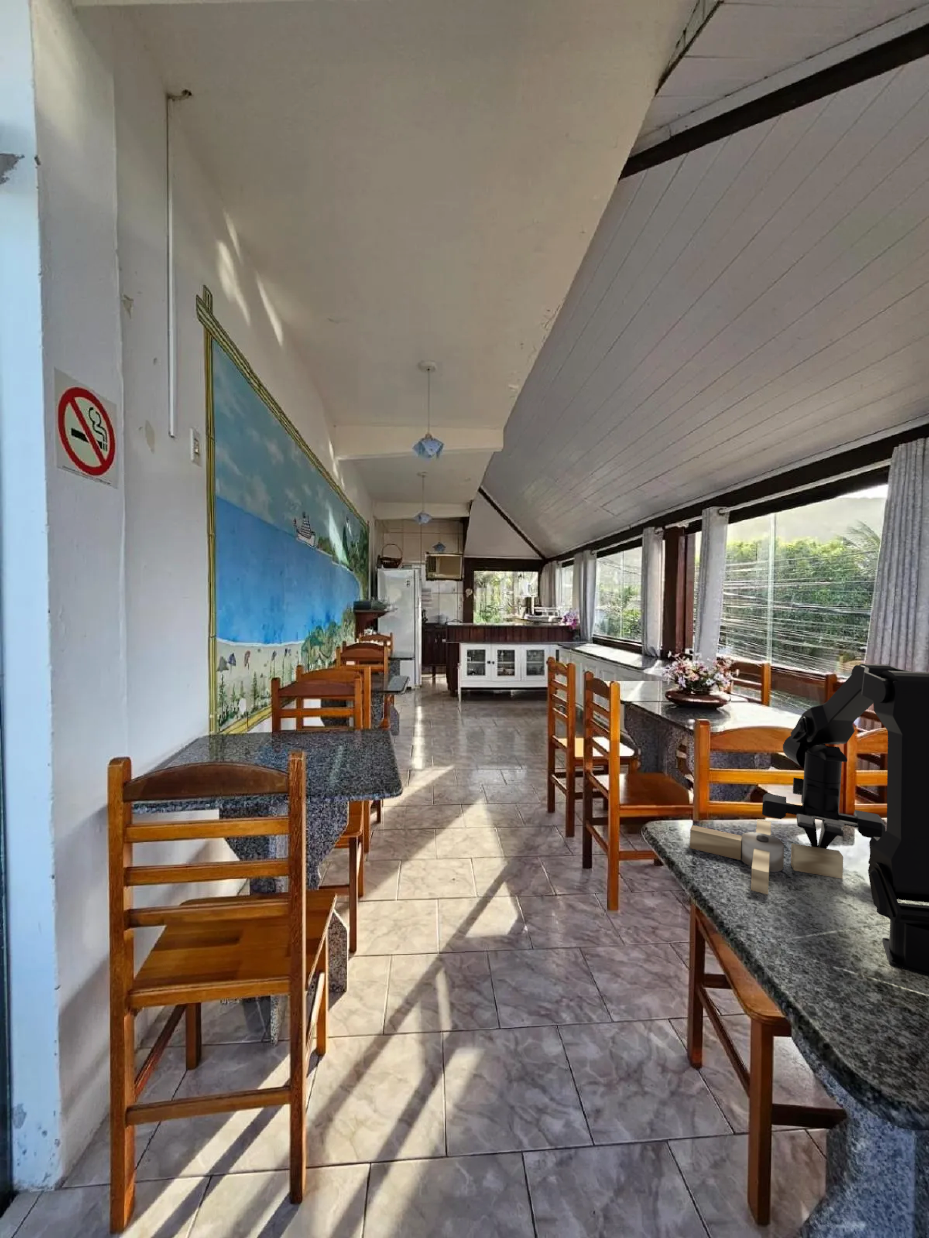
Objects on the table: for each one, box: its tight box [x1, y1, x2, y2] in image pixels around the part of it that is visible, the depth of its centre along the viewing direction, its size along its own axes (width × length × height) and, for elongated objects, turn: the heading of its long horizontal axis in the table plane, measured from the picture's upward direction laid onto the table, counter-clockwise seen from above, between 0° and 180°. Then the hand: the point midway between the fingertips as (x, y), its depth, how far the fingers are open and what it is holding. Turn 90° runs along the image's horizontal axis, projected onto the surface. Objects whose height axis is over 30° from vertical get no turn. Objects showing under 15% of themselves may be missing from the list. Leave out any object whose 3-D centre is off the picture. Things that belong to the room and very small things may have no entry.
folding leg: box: [790, 842, 844, 879], centre depth 95 cm, size 8×2×4 cm, turn 69°
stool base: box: [689, 818, 785, 895], centre depth 101 cm, size 25×16×5 cm, turn 149°
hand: (817, 859), depth 98 cm, fingers closed
